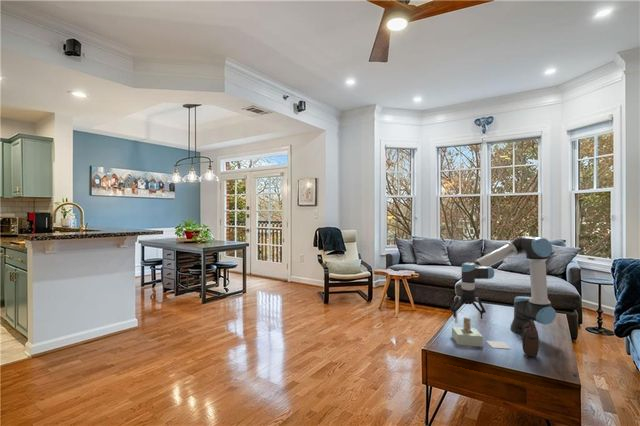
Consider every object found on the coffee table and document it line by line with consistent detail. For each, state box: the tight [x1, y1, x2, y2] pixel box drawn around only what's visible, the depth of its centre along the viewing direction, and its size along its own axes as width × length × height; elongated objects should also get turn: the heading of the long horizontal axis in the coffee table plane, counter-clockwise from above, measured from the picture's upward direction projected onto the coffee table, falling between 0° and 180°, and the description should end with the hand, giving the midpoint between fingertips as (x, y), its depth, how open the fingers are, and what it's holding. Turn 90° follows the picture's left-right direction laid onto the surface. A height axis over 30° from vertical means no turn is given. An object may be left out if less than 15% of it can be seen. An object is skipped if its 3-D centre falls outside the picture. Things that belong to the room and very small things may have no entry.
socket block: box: [451, 326, 484, 347], centre depth 206 cm, size 14×14×6 cm
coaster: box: [485, 340, 511, 350], centre depth 200 cm, size 10×10×1 cm
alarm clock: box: [521, 320, 540, 360], centre depth 186 cm, size 15×7×20 cm, turn 153°
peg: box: [462, 316, 472, 333], centre depth 206 cm, size 4×4×14 cm
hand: (467, 323), depth 206 cm, fingers open, 13 cm apart
